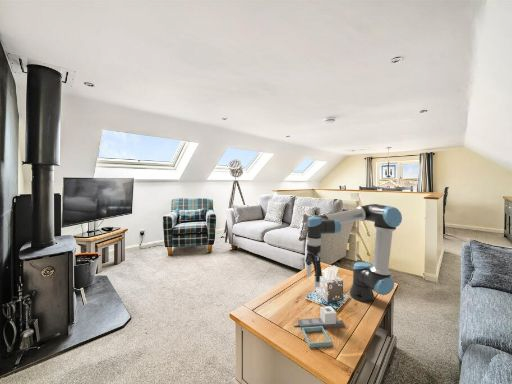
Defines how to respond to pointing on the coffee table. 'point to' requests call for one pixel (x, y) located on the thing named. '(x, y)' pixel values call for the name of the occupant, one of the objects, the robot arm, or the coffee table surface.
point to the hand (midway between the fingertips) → (312, 280)
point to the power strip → (318, 323)
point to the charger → (328, 315)
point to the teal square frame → (316, 344)
